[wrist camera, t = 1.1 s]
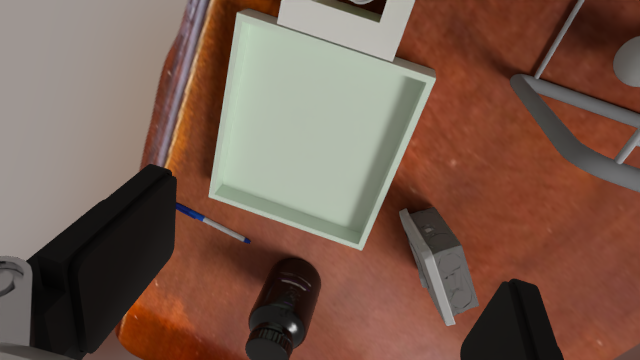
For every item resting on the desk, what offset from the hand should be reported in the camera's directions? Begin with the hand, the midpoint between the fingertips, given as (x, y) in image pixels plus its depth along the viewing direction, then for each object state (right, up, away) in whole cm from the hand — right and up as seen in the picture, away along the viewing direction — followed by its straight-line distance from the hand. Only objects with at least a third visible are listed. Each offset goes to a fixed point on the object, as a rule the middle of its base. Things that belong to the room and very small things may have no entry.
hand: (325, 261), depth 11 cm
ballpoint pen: (-13, -3, +40) cm, 43 cm away
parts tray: (-1, +7, +31) cm, 32 cm away
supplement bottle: (-3, -10, +42) cm, 43 cm away
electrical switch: (+13, -4, +35) cm, 37 cm away
